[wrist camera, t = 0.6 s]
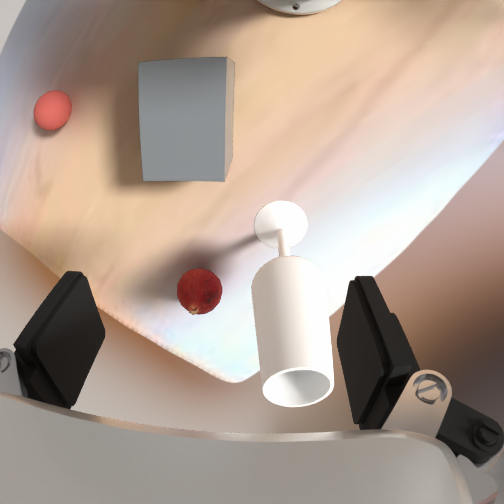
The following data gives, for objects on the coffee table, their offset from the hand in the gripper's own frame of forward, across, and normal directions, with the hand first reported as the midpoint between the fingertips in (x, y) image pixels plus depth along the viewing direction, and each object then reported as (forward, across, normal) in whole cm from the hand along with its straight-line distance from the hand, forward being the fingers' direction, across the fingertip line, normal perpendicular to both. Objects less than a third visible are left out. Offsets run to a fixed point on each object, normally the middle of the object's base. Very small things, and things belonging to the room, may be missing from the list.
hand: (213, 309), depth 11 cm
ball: (+26, +23, -7) cm, 35 cm away
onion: (+28, +6, +18) cm, 34 cm away
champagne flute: (+28, -4, +10) cm, 30 cm away
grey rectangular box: (+28, +5, -4) cm, 29 cm away
